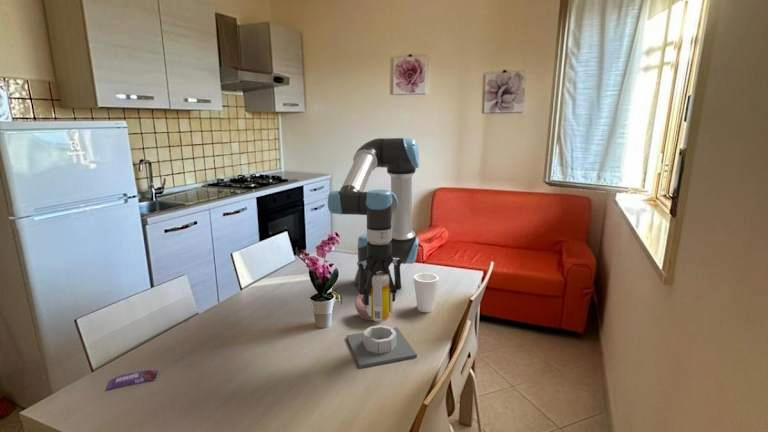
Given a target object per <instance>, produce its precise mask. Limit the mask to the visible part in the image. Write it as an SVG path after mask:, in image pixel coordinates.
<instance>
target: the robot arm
mask: <svg viewBox="0 0 768 432" xmlns="http://www.w3.org/2000/svg"><path fill="white" fill-rule="evenodd" d="M352 160H353V161H352V162H353V163H352V165H351V168H350V169H349V171H348V173H347V175H346V177H345V180H344V181H343V183H342V186H341V187H340V189H339V190H332V191H330V192H329V194H328V196H327V209H328V211H329V212H330V213H331V214H334V215H335V214H336V215H340V216H341V215H357V216H366V232H365V233H363V234H360V236H358V239H357V260H358V261H357V262H356V265H357V271H356V274H355V277H354V286H355V287H357V292H358V293H359V294H360V295H364V304H365V305H367V313H368V315H369V316H372V298H371V295H370V290H371V286H372V277H373V275H376V272H379V271H384V272H385V273H386V274H388V275H389V314H391V313H392V314H393V302H396V293H397V292H398V291H400V290H402V281H401V280H402V278H401V277H402V275H401V265H402V264H403V265H407V264H408V265H413V264H414V263H416V260H417V255H418V248H419V242H420V241H419V240H420V239H419V237H417V236H416V233H415V231H414V230H413V229H412V228H413V217H412V216H413V192H412V191H413V185H412V184H413V179H412V178H413V175H414V174H415V173H416V169H418V168H420V154H419V146H418V144H417V141H416V140H415V139H414V138H409V137H408V138H406V137H400V138H399V137H396V138H395V137H394V138H393V137H392V138H391V137H388V138H382V137H381V138H380V137H379V138H374V139H372V140H369V141H367V142H366V143H364V144H362V145H361V146H360V147H359V148H358V149H357V150H356V151H355V153H354V156H353V159H352ZM377 168H386V172H387V174H388V175H389V176H390V190H387V189H371V190H369V191H365V188H366V186H367V184H368V181H369V179H370V176H371V173H372V171H374V170H375V169H377ZM392 264H393V275H394V280H393V278H392V277H393V276H392V274H391V270H390V266H391V265H392ZM359 294H358V295H359Z"/></svg>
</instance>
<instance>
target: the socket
mask: <svg viewBox="0 0 768 432" xmlns="http://www.w3.org/2000/svg"><path fill="white" fill-rule="evenodd" d="M346 340H347V342H348V345H349V346H350V350H351V351H352V353H353V356H354V358H355V360H356V362H357V364H358V368H359V369H363V368H369V367H373V366H379V365H384V364H389V363H394V362H395V363H396V362H400V361H405V360H411V359H416V358H417V357H418V354H417V353H416V352H415V350H414V349H413V347H412V346H411V345H410V343H409V342H408V340H407V339H406V337H405V336H404V335H403V333H402V332H401V330H400V329H399V328H398V326H396V327H391V326H387V325H384V324H383V325H381V324H380V325H379V324H378V325H372V326H369V327H367V329H366V330H364V331H363V332H360V333H359V332H358V333H353V334H347V335H346Z"/></svg>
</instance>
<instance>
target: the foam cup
mask: <svg viewBox="0 0 768 432" xmlns="http://www.w3.org/2000/svg"><path fill="white" fill-rule="evenodd" d="M439 281H440V280H439V276H438V275H437V274H434V273H431V272H421V273H416V274H414V276H413V284H414V292H415V301H416V308H417V310H418V311H419V312H421V313H432V312H433V311H434V310H435V309H434V308H435V303H436V297H437V291H438V285H439Z"/></svg>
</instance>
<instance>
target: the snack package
mask: <svg viewBox="0 0 768 432" xmlns="http://www.w3.org/2000/svg"><path fill="white" fill-rule="evenodd" d="M157 373H158V369H145V370H140V371H135V372H129V373H124V374H121V375H118V376H115V377H114V378H111V379H110V381H109V382H108V386H107V388H106V390H111V389H112V390H114V389H118V388H123V387H129V386H133V385H137V384H143V383H147V382H152V381H154V380H156V377H157Z"/></svg>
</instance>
